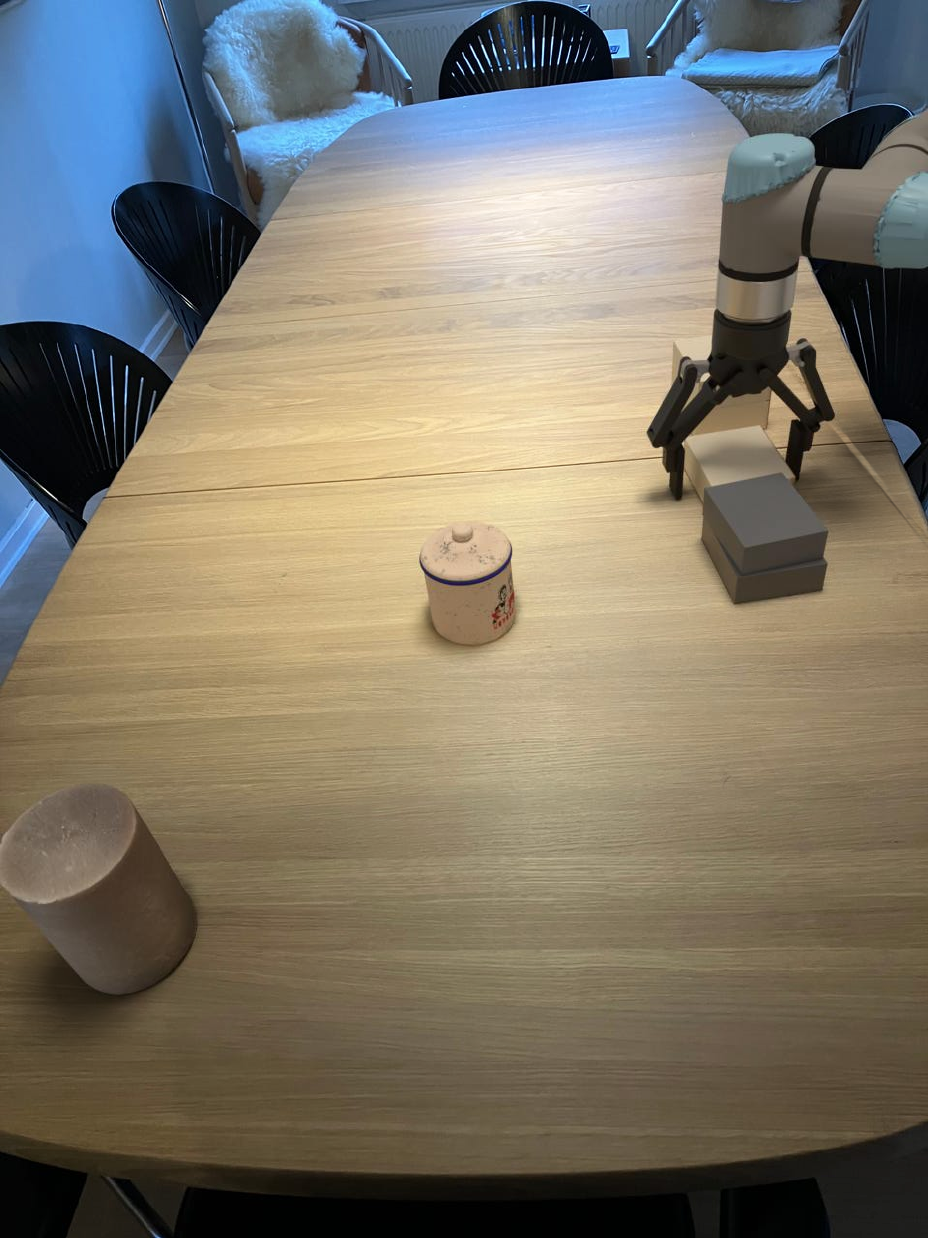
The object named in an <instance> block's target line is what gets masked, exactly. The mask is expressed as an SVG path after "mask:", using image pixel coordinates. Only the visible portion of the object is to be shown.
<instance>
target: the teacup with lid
mask: <svg viewBox="0 0 928 1238" xmlns="http://www.w3.org/2000/svg"><path fill="white" fill-rule="evenodd" d="M512 557H513V545H512V543H511V541H510V539H509V538H508V536H507V534H505V532H503V531H502V530H501V529H500V528H498V527H497V526H494V525H492V524H491V523H486V522H483V521H460V522H454V523H451V524H448V525H445V526H443V527H441V528H439V529H437V530H435V531H434V532H432V533H431V534H430V535H429V536H428V537H427V538H426V540H425V541H424V542H423V544H422V546H421V548H420V553H419V558H418V560H419V566H420V568H421V570H422V571H423V574H424V580H425V585H426V591H427V597H428V602H429V608H430V613H431V619H432V624H433V626H434V628H435V630H436V631H437V633H438V634H439V635H441V637H442V638H444V639H445V640H447V641H449V642H452V643H455V644H459V645H466V646H473V645H474V646H475V645H482V644H486V643H490V642H492V641H494V640H497V639H499V638H500V637H502V636H503V635H504V634H506V632H508V631H509V629H510V628H511V627H512V626H513V624H514V622H515V619H516V615H517V609H516V597H515V589H514V587H515V586H514V579H513V567H512Z"/></svg>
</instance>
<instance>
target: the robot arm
mask: <svg viewBox="0 0 928 1238" xmlns="http://www.w3.org/2000/svg"><path fill="white" fill-rule="evenodd" d="M815 151H816V150H815V145H814V144H813V142H812V141H811V139H809V138H807V137H804V136H798V135H797V136H796V135H795V134H794V133H780V132H779V133H778V132H777V133H775V132H774V133H765V134H759V135H754V136H751V137H749V138H746V139H744V140H742V141H740V142H739V143H738V144H737V145H735V147H734V148H733V149H732V150H731V151H730V153H729V156H728V159H727V167H726V175H725V181H724V189H723V193H722V195H721V202H722V204H721V205H722V207H721V220H720V239H719V252H718V253H719V254H718V260H717V261H718V263H717V273H716V285H715V299H714V305H715V307H716V308H715V309H714V312H713V318H712V319H713V320H712V333H711V335H712V347H711V353H710V355H709V357H708V358H707V360H694V361H692V360H691V358H690V357H688V356H685V357H683V358H682V359H681V360H680V364H679V369H678V375H677V378H676V379H675V381H674V383H673V385H672V387H671V386H670V389H669V390H668V392H667V394H666V396H665V398H664V399H663V401H662V403H661V404H660V406H659V408H658V410H657V412H656V414H655V416H654V417H653V419H652V421H651V422H650V425H649V426H648V428H647V430H646V436H647V438H648V440H649V442H650V444H651V447H653V448H654V449H660V448H662V457H661V459H662V461H661V463H662V466H663V468H664V470H665V472H666V474H669V480H668V481H669V482H668V487H669V490H671V493H672V495H673V497H674V500H680V499H683V489H684V475H685V474H684V473H685V468H684V461H685V449H684V441H685V439H686V438H687V437H689V436H691V435H692V432H693V431H694V429H695V428H696V427H697V426H698V425H699V424H700V423H701V422H702V421H703V420H704V418H705V417H706V416H707V415H708V414H709V413H710V412H711V411H712V410H713V408H714V407H715V406H716V405H720V404H722V402H723V401H724V400H725V399H726V398H727V397H728V396H729V395H730V396H732V398H734V397H740V396H743V395H745V394H761V391H763V390H765V389H766V388H767V387H768V386H769V387H770V389H771V390H772V393H774V394H775V395H776V396H777V397H778V398H779V399H780V400H781V401H782V403H784V404H785V405H786V407H788V409H789V410H790V411H791V412H792V413H793V414H794V415H795V416H796V418H795V419H791V420H790V427H789V433H788V439H787V446H786V451H785V459H784V460H785V462H786V463H787V465H788V466H789V468H790V469H791V471H792V472H793V474H794V475H795V477H796V478H795V482H798V481H800V477H801V470H802V464H803V459H804V453H805V452H810V450H811V449H812V447H813V442H814V435H815V434H816V433H817V432H819V431H820V430H821V428H822V427H821V426H822V425H821V424H820V423H823V422H827V423H829V422H831V421H833V420H834V419H835V417H836V413H835V410H834V408H833V406H832V404H831V401H830V399H829V396H828V393H827V391H826V388H825V386H824V384H823V381H822V379H821V376H820V373H819V371H818V369H817V350H816V349H815V347H814V346H813V345H812V344H811V343H810V342H809V340H808V339H807V338H805V337H802V338H799V339H798V340H797V341H796V343H795V344H794V345H790V346H787V345H788V342H789V335H790V328H791V321H792V315H793V314H792V310H791V309H792V308H793V306H794V302H795V294H796V285H797V278H798V271H799V265H800V257H805V258H811V259H814V258H815V259H824V260H830V261H838V262H847V263H853V264H861V265H870V266H877V267H880V268H883V269H899V268H900V269H925V268H927V267H928V108H926V109H925V110H924V111H923V112H921V113H919V114H916V115H913V116H910V117H908V118H906V119H904V120H903V121H902V122H900V123H899V124H898V125H896V126H895V127H893V129H891V130H890V131H889V132H888V133H886V135H884V136H883V138H882V140H881V141H880V142H879V144H878V145H877V147H876V148H875V150H874V152H873V153H872V155H870V157H869V158H868V159H867V161H866V163H865V164H864V165H863V167H862V168H861V169H855V168H854V169H852V168H834V167H826V166H821V165H816V162H817V160H816V157H815ZM789 361H791V362H792V363H793V365H794V366H795V367H798V370H799V372H800V375H801V377H802V379H803V382H804V385H805V386H806V389H807V392H808V394H809V396H810V398H811V400H812V403H813V405H814V406H813V407H812V408H808V407H807V406H806V405H805V404H804V403H803V401H802V400H801V399H800V398H799V397H798V396H797V395H796V394H795V393H794V392H793V391H792V390H791V389H790V387H789V386H787V384H786V383H785V382H784V381H783V380H782V379H781V377H779V376H778V375H779V374H781V372H782V370H783V369H784V368H785V367H786V366H787V365H788V363H789ZM705 373H709V374H710V376H709V377H708V379H707V380H706V381H705V382H704V383H703V385H702V389H701V390H700V391H699V393H698V394H697V395H696V396H695V397H694V398H693V399H692V401H691V402H690V403H689V404H688V405H687V406H686V407H685V408H684V406H685V404H686V403H687V401H688V399H689V397H690V396H691V394H692V392H693V390H694V387H695V383H699V382H700V379H701V377H702V375H703V374H705ZM717 385H718V386H719V387H720V388H719V389H718V390H716V387H717ZM683 408H684V410H683ZM682 410H683V411H682ZM681 411H682V412H681Z"/></svg>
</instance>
